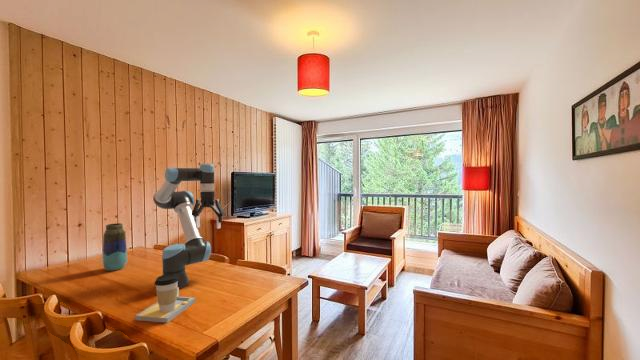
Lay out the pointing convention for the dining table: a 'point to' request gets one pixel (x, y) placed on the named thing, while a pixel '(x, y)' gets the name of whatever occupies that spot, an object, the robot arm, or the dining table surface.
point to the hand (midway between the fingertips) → (208, 228)
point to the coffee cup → (167, 292)
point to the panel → (157, 316)
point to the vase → (114, 247)
